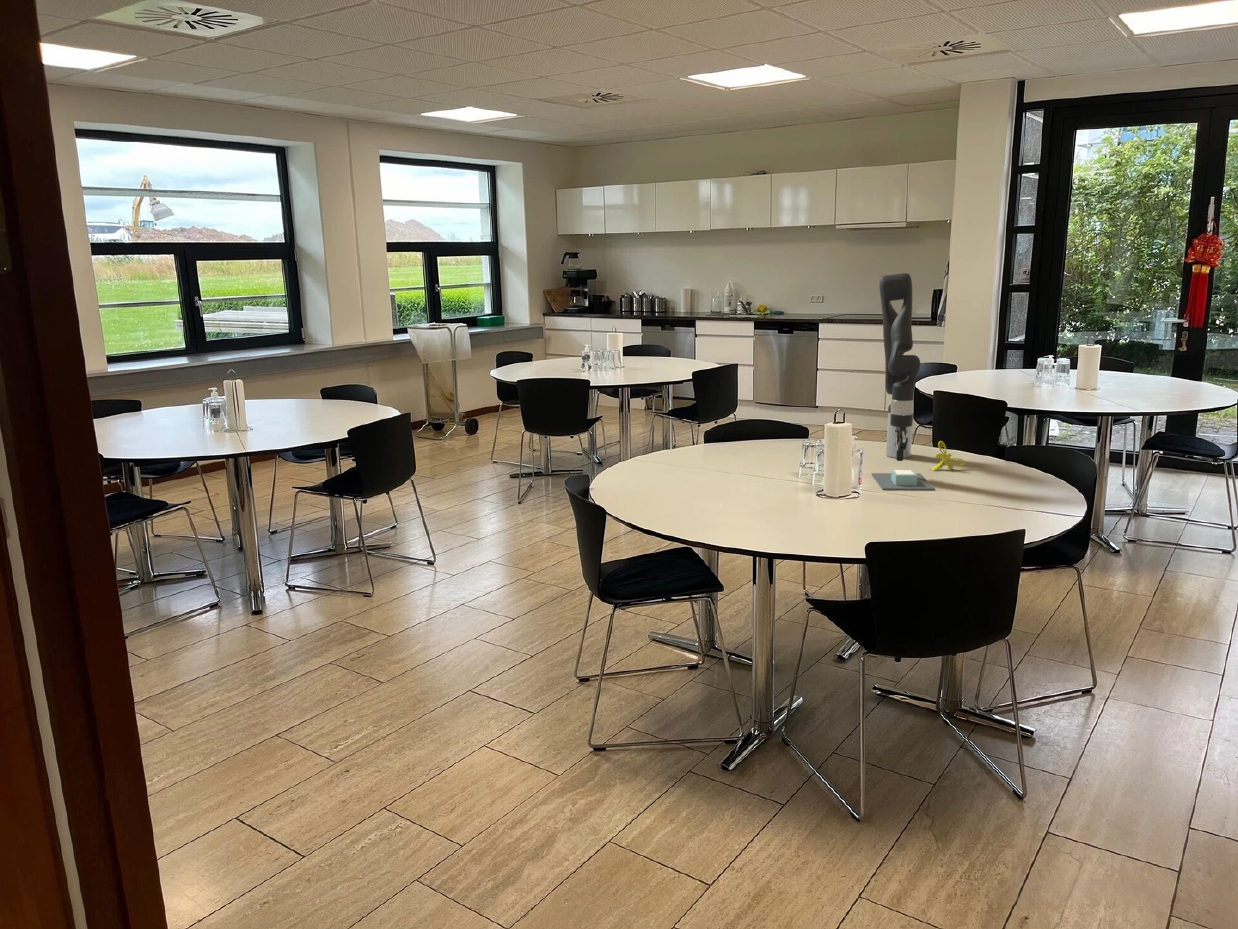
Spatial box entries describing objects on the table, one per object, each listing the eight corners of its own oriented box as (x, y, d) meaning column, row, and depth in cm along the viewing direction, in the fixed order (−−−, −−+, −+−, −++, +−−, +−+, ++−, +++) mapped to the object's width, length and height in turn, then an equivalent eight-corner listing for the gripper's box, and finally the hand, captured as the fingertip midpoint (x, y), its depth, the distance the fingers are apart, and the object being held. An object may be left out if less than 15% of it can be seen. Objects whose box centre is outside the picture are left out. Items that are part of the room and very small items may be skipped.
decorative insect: (945, 482, 335) (964, 461, 333) (949, 484, 331) (968, 463, 330) (920, 460, 332) (939, 439, 331) (924, 462, 329) (943, 441, 328)
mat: (871, 474, 326) (871, 473, 326) (920, 474, 325) (920, 473, 324) (882, 490, 305) (882, 488, 305) (934, 490, 303) (934, 488, 303)
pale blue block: (891, 469, 315) (896, 474, 308) (912, 469, 315) (917, 474, 307) (891, 479, 316) (895, 485, 308) (911, 479, 315) (916, 485, 308)
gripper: (887, 409, 323) (885, 456, 327) (894, 415, 310) (892, 464, 314) (908, 408, 322) (906, 456, 326) (917, 415, 309) (914, 464, 313)
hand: (899, 460), depth 320 cm, fingers closed
